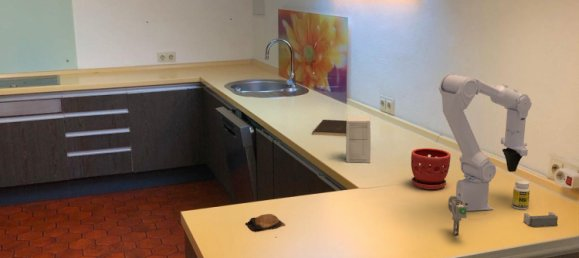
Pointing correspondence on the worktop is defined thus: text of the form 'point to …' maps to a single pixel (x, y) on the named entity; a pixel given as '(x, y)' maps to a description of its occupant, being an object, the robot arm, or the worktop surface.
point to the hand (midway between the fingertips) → (511, 171)
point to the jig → (541, 220)
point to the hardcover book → (331, 128)
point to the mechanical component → (457, 212)
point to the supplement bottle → (521, 194)
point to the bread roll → (264, 223)
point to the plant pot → (430, 167)
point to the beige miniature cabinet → (358, 139)
